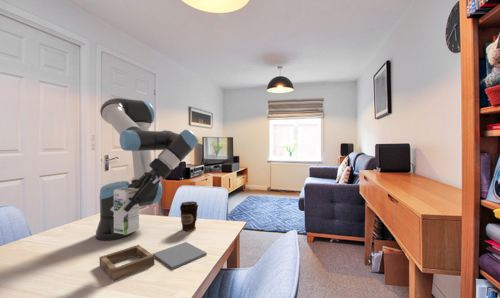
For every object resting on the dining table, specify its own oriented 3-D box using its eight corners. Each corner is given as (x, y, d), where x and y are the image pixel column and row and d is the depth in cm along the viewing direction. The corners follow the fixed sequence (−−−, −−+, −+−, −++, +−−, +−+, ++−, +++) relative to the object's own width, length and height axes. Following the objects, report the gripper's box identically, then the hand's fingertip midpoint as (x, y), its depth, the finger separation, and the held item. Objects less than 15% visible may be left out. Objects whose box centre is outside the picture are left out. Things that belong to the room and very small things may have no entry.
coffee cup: (193, 233, 109) (193, 205, 109) (176, 232, 111) (176, 204, 110) (200, 226, 118) (200, 200, 117) (185, 225, 119) (185, 200, 119)
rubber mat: (152, 255, 88) (152, 253, 88) (185, 243, 98) (185, 241, 98) (172, 269, 78) (172, 267, 78) (206, 254, 88) (206, 252, 88)
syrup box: (112, 232, 79) (112, 189, 78) (127, 226, 84) (127, 186, 84) (125, 235, 77) (125, 191, 76) (140, 229, 83) (139, 187, 82)
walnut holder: (99, 265, 81) (99, 257, 80) (138, 252, 90) (138, 244, 90) (112, 280, 72) (112, 271, 72) (154, 264, 81) (154, 255, 81)
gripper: (181, 174, 81) (129, 231, 72) (163, 168, 97) (120, 213, 89) (165, 159, 77) (108, 216, 68) (150, 155, 94) (103, 201, 85)
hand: (115, 215), depth 79 cm, fingers closed on syrup box, 8 cm apart
